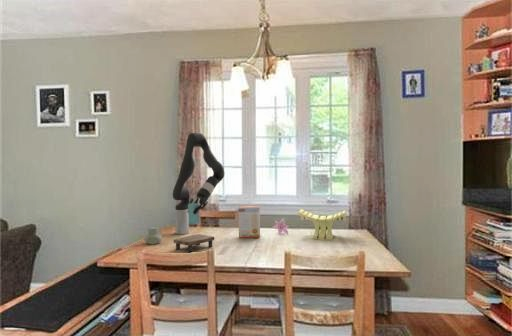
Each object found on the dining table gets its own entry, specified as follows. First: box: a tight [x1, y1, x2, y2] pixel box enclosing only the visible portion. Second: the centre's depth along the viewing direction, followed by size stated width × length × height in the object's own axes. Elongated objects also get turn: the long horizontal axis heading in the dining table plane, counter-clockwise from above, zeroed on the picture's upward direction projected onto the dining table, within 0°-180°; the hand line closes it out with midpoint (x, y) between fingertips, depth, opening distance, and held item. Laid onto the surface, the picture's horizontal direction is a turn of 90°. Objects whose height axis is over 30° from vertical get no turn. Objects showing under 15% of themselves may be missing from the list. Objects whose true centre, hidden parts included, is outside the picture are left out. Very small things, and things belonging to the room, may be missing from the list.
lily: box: [272, 218, 290, 235], centre depth 286 cm, size 12×12×10 cm
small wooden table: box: [173, 233, 215, 253], centre depth 244 cm, size 14×20×6 cm
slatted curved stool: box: [297, 208, 347, 241], centre depth 271 cm, size 30×16×18 cm, turn 75°
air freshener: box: [144, 226, 163, 245], centre depth 258 cm, size 11×8×10 cm
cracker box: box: [237, 205, 261, 239], centre depth 273 cm, size 14×6×21 cm, turn 84°
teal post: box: [188, 203, 200, 225], centre depth 243 cm, size 4×4×12 cm
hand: (191, 213), depth 241 cm, fingers closed on teal post, 4 cm apart
